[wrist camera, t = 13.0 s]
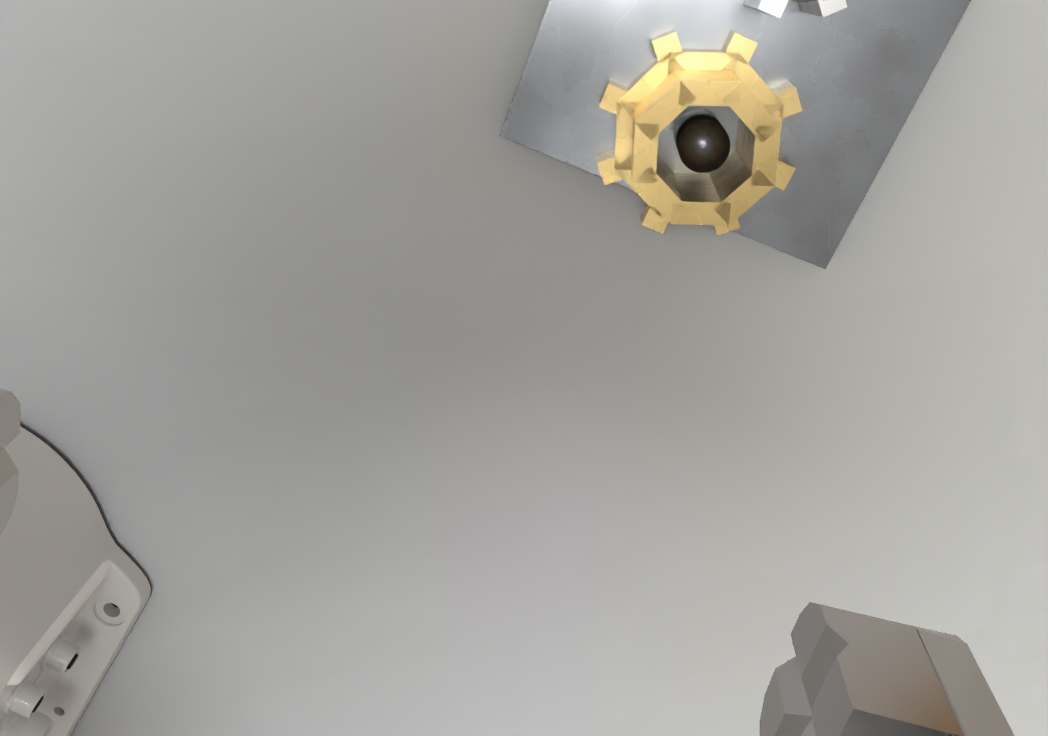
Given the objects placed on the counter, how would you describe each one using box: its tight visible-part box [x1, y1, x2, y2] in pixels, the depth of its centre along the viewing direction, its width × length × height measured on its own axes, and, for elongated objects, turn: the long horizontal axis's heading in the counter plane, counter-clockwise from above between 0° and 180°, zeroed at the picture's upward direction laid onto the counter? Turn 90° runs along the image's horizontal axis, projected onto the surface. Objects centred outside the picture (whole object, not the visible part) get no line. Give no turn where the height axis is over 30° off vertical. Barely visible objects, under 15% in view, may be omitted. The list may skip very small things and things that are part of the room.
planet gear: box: [596, 29, 802, 236], centre depth 35 cm, size 7×7×5 cm
